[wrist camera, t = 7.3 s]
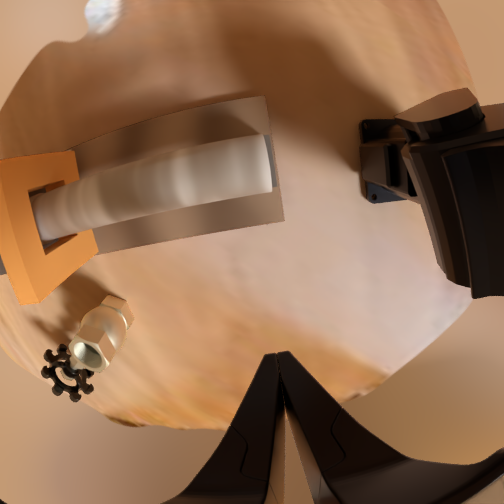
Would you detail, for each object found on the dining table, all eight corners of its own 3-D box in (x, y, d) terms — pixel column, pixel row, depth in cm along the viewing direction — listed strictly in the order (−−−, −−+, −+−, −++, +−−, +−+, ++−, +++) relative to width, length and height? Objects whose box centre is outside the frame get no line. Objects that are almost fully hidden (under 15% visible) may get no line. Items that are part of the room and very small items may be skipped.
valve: (101, 273, 22) (57, 336, 25) (64, 312, 16) (29, 373, 18) (155, 322, 24) (100, 373, 26) (133, 372, 18) (79, 414, 20)
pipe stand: (263, 98, 17) (276, 64, 10) (282, 217, 21) (304, 257, 13) (38, 165, 18) (-25, 180, 11) (62, 259, 21) (10, 300, 14)
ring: (74, 150, 16) (-2, 160, 9) (98, 251, 19) (39, 303, 11) (55, 159, 16) (-19, 172, 9) (80, 255, 19) (20, 305, 11)
